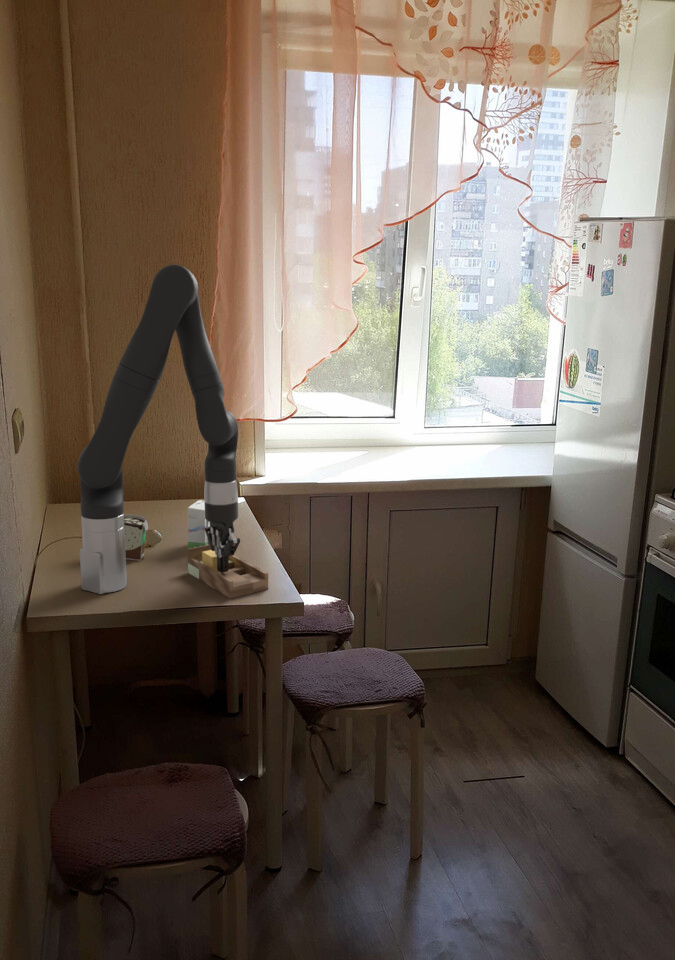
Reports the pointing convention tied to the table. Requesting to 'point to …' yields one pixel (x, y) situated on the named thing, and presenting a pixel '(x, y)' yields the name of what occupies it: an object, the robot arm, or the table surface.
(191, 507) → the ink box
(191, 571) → the pad
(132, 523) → the food container
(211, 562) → the ochre block
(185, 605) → the table surface
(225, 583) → the board
